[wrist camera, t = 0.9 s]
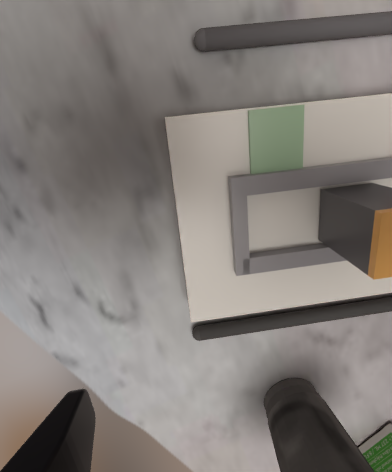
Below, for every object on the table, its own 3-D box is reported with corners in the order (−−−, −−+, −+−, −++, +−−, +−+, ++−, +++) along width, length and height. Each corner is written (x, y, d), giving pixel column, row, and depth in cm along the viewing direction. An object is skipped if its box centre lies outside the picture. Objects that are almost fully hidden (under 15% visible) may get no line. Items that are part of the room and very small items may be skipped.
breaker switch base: (478, 85, 18) (542, 76, 15) (441, 264, 22) (484, 285, 19) (164, 118, 17) (164, 116, 14) (188, 300, 21) (192, 329, 18)
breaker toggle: (372, 182, 17) (452, 203, 12) (367, 232, 18) (438, 270, 13) (320, 189, 16) (381, 213, 12) (318, 239, 17) (373, 279, 13)
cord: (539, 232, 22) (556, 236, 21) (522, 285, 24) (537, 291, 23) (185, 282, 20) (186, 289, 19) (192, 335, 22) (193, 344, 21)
